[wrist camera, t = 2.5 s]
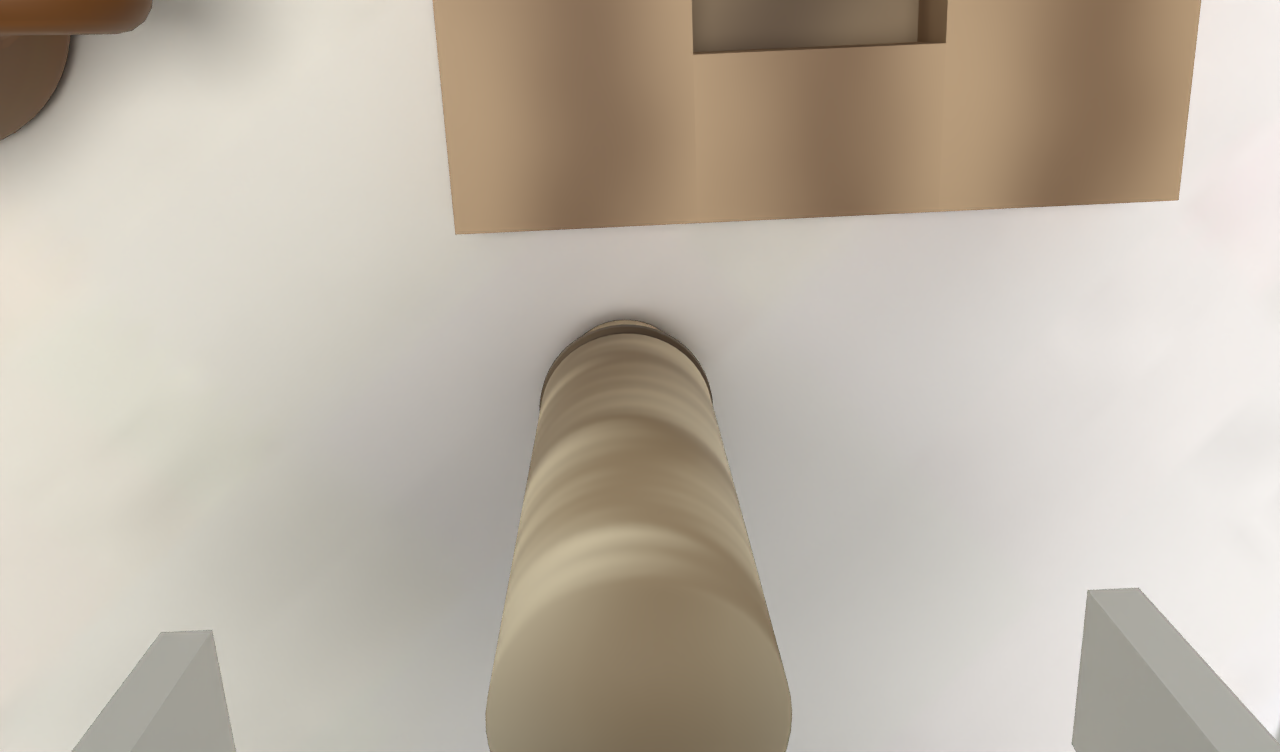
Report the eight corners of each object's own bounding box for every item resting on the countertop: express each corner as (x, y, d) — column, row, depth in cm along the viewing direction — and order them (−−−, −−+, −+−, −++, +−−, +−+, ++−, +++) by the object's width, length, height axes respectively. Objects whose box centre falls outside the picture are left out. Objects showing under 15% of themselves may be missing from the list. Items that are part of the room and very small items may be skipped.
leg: (550, 457, 32) (495, 857, 16) (539, 306, 30) (467, 591, 15) (706, 449, 32) (795, 841, 16) (702, 298, 30) (796, 575, 15)
